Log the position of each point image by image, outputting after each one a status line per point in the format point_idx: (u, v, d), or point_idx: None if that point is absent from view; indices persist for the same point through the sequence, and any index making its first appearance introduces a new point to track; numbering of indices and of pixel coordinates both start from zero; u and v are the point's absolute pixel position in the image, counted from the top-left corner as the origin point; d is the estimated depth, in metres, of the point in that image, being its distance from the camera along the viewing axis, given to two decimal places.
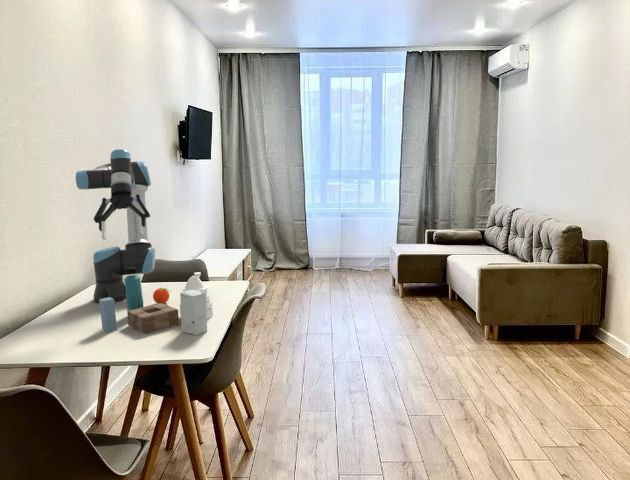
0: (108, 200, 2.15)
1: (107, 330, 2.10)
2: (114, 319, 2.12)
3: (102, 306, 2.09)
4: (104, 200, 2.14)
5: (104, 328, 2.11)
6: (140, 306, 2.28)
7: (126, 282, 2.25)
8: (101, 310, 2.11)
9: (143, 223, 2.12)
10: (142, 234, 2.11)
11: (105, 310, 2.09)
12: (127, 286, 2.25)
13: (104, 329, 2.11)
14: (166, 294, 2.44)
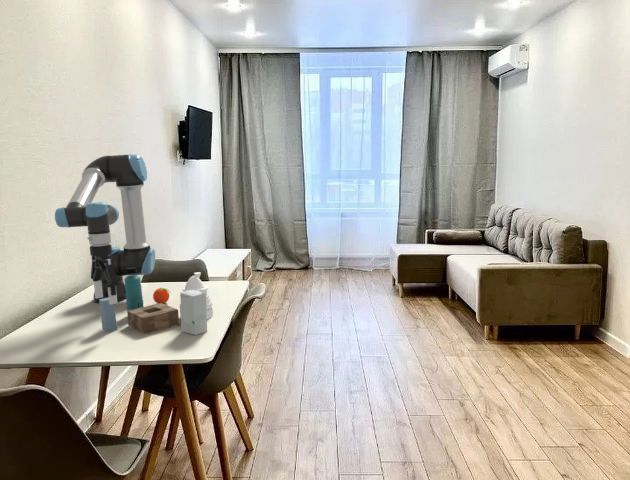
0: None
1: (107, 330, 2.10)
2: (114, 319, 2.12)
3: (102, 306, 2.09)
4: (92, 259, 2.12)
5: (104, 328, 2.11)
6: (140, 306, 2.28)
7: (126, 282, 2.25)
8: (101, 310, 2.11)
9: (111, 293, 2.04)
10: (114, 303, 2.06)
11: (105, 310, 2.09)
12: (127, 286, 2.25)
13: (104, 329, 2.11)
14: (166, 294, 2.44)
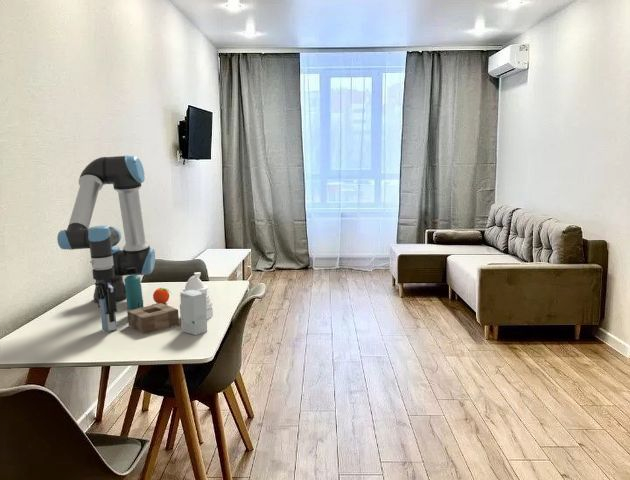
0: None
1: (107, 330, 2.10)
2: None
3: (102, 306, 2.09)
4: (96, 285, 2.13)
5: (104, 328, 2.11)
6: (140, 306, 2.28)
7: (126, 282, 2.25)
8: (101, 310, 2.11)
9: (110, 320, 2.09)
10: (113, 329, 2.11)
11: (105, 310, 2.09)
12: (127, 286, 2.25)
13: (104, 329, 2.11)
14: (166, 294, 2.44)
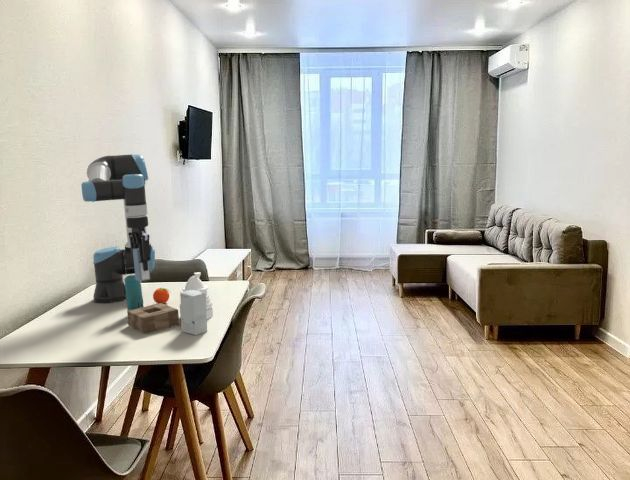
0: None
1: (140, 279, 2.10)
2: None
3: (136, 255, 2.09)
4: (129, 235, 2.13)
5: (138, 277, 2.11)
6: (140, 306, 2.28)
7: (126, 282, 2.25)
8: (134, 259, 2.11)
9: (144, 269, 2.09)
10: None
11: (138, 259, 2.08)
12: (127, 286, 2.25)
13: (137, 278, 2.11)
14: (166, 294, 2.44)
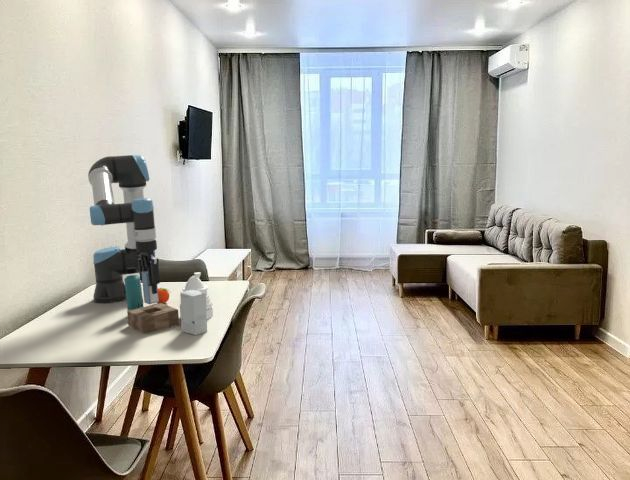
0: (141, 256, 2.15)
1: (149, 302, 2.12)
2: None
3: (145, 278, 2.11)
4: (138, 258, 2.15)
5: (146, 300, 2.13)
6: (140, 306, 2.28)
7: (126, 282, 2.25)
8: (143, 282, 2.13)
9: (153, 292, 2.11)
10: (155, 301, 2.13)
11: (147, 282, 2.11)
12: (127, 286, 2.25)
13: (146, 301, 2.13)
14: (166, 294, 2.44)
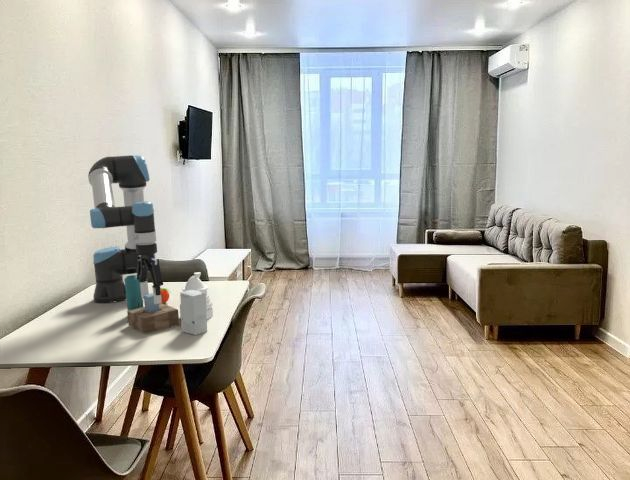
0: (140, 257, 2.15)
1: None
2: None
3: (147, 302, 2.12)
4: (137, 259, 2.16)
5: None
6: (140, 306, 2.28)
7: (126, 282, 2.25)
8: (145, 306, 2.14)
9: (156, 293, 2.09)
10: None
11: (150, 305, 2.12)
12: (127, 286, 2.25)
13: None
14: (166, 294, 2.44)
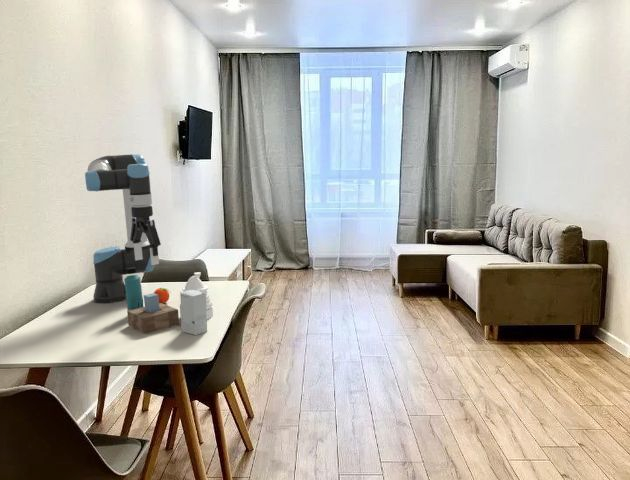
0: (136, 220, 2.13)
1: None
2: None
3: (147, 302, 2.12)
4: (132, 221, 2.13)
5: None
6: (140, 306, 2.28)
7: (126, 282, 2.25)
8: (145, 306, 2.14)
9: (153, 254, 2.05)
10: None
11: (150, 305, 2.12)
12: (127, 286, 2.25)
13: None
14: (166, 294, 2.44)
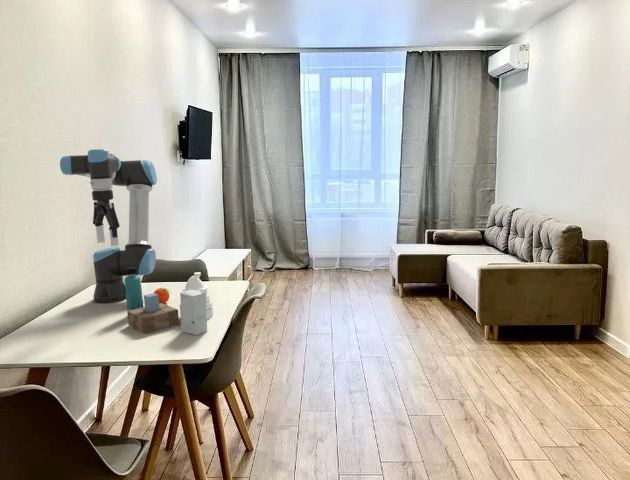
0: None
1: None
2: None
3: (147, 302, 2.12)
4: (94, 205, 2.22)
5: None
6: (140, 306, 2.28)
7: (126, 282, 2.25)
8: (145, 306, 2.14)
9: (113, 236, 2.14)
10: (116, 245, 2.15)
11: (150, 305, 2.12)
12: (127, 286, 2.25)
13: None
14: (166, 294, 2.44)
